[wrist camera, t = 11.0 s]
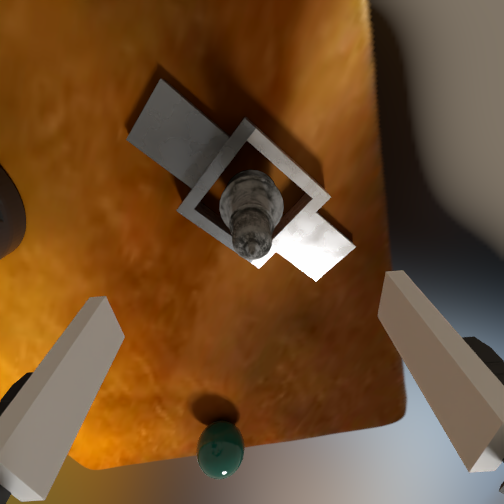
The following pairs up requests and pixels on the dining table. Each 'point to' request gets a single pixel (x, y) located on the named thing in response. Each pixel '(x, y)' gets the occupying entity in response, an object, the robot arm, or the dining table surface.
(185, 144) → the flanged square frame
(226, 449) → the sphere
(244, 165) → the dining table surface
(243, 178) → the grey chess piece
